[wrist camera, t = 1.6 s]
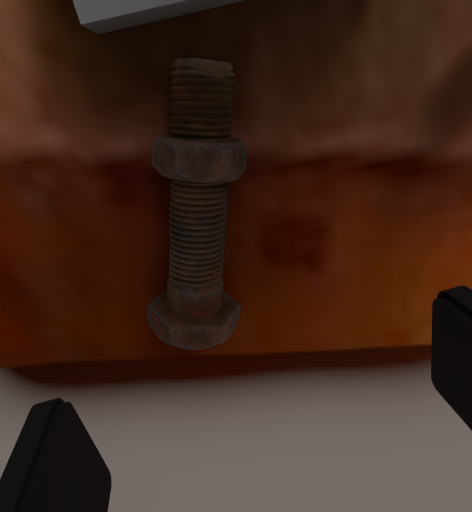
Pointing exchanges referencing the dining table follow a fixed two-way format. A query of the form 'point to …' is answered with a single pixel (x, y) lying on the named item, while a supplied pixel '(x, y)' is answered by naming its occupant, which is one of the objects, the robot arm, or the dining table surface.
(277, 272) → the dining table surface
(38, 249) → the dining table surface
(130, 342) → the dining table surface
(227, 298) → the bolt
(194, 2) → the bin
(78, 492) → the robot arm
